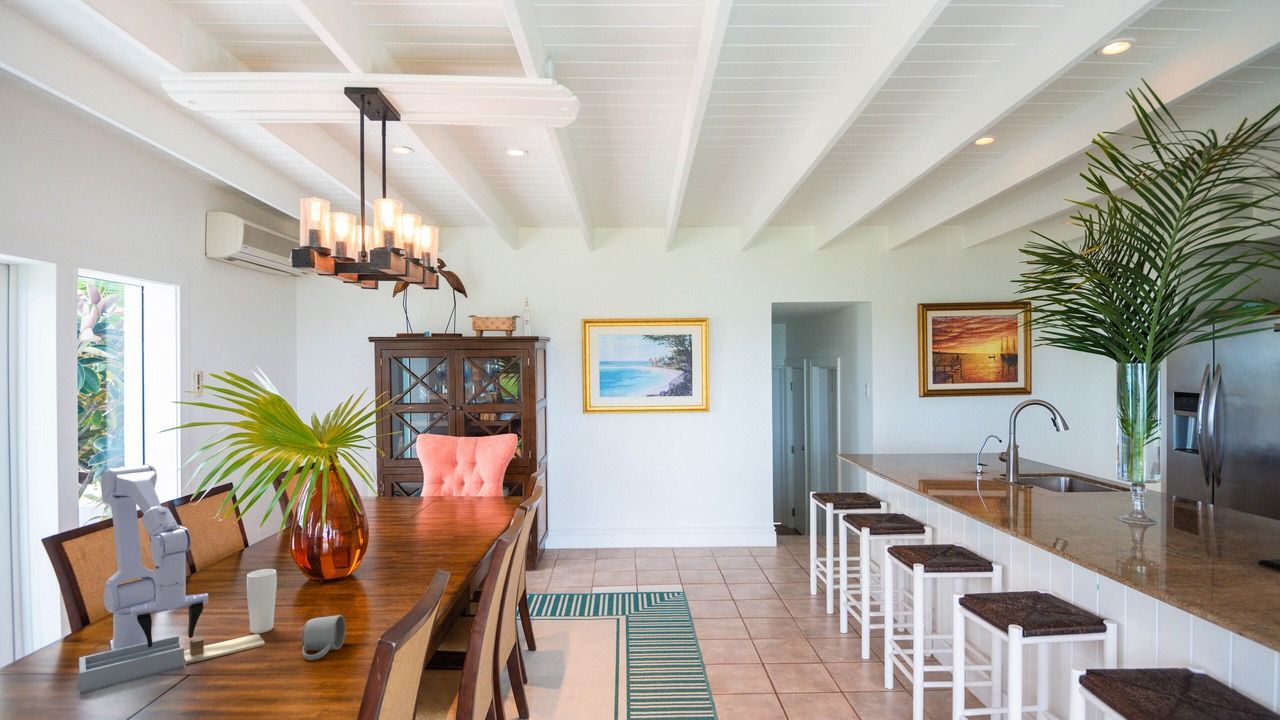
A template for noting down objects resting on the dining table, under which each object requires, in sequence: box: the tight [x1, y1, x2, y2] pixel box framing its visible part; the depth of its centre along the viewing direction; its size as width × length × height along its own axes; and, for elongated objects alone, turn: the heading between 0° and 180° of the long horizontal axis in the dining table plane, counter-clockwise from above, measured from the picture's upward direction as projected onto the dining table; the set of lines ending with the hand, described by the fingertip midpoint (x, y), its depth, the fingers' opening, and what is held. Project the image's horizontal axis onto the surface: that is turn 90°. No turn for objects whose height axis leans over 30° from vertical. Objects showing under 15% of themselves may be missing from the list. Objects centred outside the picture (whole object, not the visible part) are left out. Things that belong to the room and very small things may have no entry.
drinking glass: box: [246, 568, 278, 635], centre depth 169 cm, size 7×7×15 cm
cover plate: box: [184, 633, 266, 665], centre depth 157 cm, size 7×16×4 cm, turn 131°
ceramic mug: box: [300, 614, 346, 661], centre depth 156 cm, size 11×8×8 cm
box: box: [78, 634, 185, 695], centre depth 145 cm, size 10×18×4 cm, turn 131°
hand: (170, 641), depth 150 cm, fingers open, 7 cm apart
